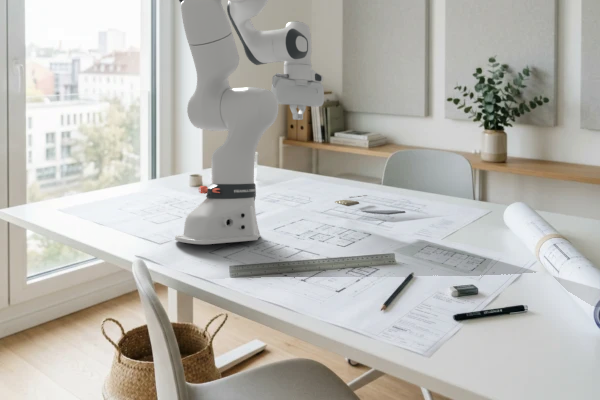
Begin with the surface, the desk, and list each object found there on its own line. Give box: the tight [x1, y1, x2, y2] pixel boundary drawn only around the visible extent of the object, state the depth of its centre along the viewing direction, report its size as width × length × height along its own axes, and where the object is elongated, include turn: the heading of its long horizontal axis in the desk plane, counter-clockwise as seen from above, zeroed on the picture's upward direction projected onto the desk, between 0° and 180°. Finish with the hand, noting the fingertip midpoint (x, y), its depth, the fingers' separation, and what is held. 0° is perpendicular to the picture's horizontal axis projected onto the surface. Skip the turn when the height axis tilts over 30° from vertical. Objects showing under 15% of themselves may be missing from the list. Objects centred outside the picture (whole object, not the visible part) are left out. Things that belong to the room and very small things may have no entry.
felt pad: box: [362, 209, 406, 215], centre depth 188 cm, size 9×10×1 cm
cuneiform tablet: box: [334, 194, 368, 207], centre depth 198 cm, size 7×4×12 cm
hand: (297, 119), depth 191 cm, fingers closed
